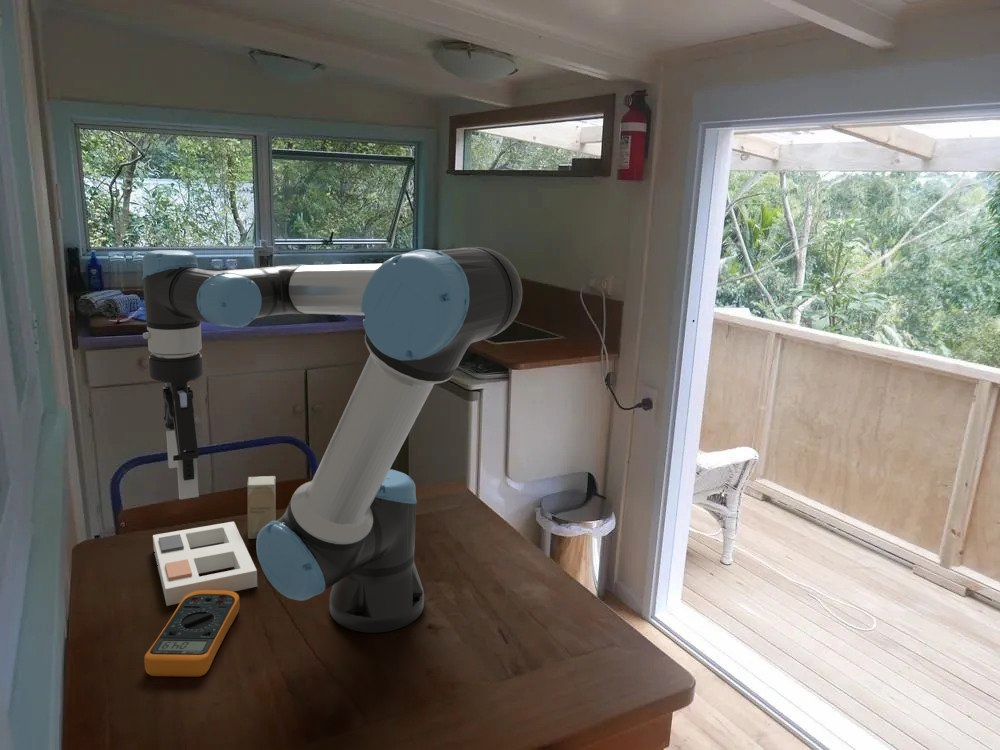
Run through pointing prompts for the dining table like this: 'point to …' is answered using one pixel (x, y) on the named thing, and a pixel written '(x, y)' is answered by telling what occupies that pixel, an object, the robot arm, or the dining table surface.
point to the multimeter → (193, 634)
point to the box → (260, 503)
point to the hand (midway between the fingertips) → (183, 481)
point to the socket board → (203, 561)
